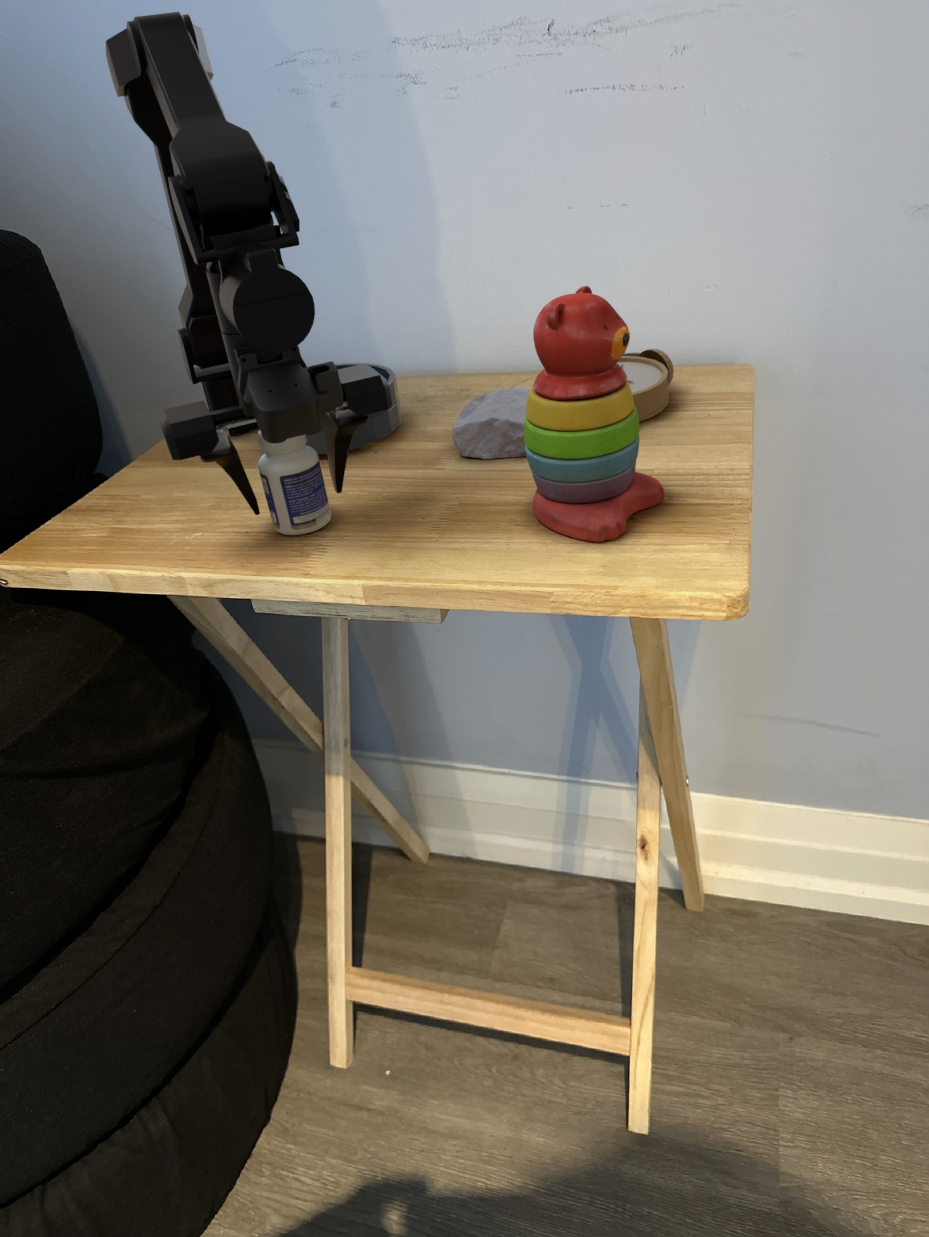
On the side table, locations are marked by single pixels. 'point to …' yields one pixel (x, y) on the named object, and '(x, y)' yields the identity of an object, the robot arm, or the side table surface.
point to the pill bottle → (293, 486)
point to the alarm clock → (648, 380)
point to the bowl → (378, 421)
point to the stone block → (493, 425)
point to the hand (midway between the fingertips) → (298, 502)
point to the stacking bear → (584, 422)
